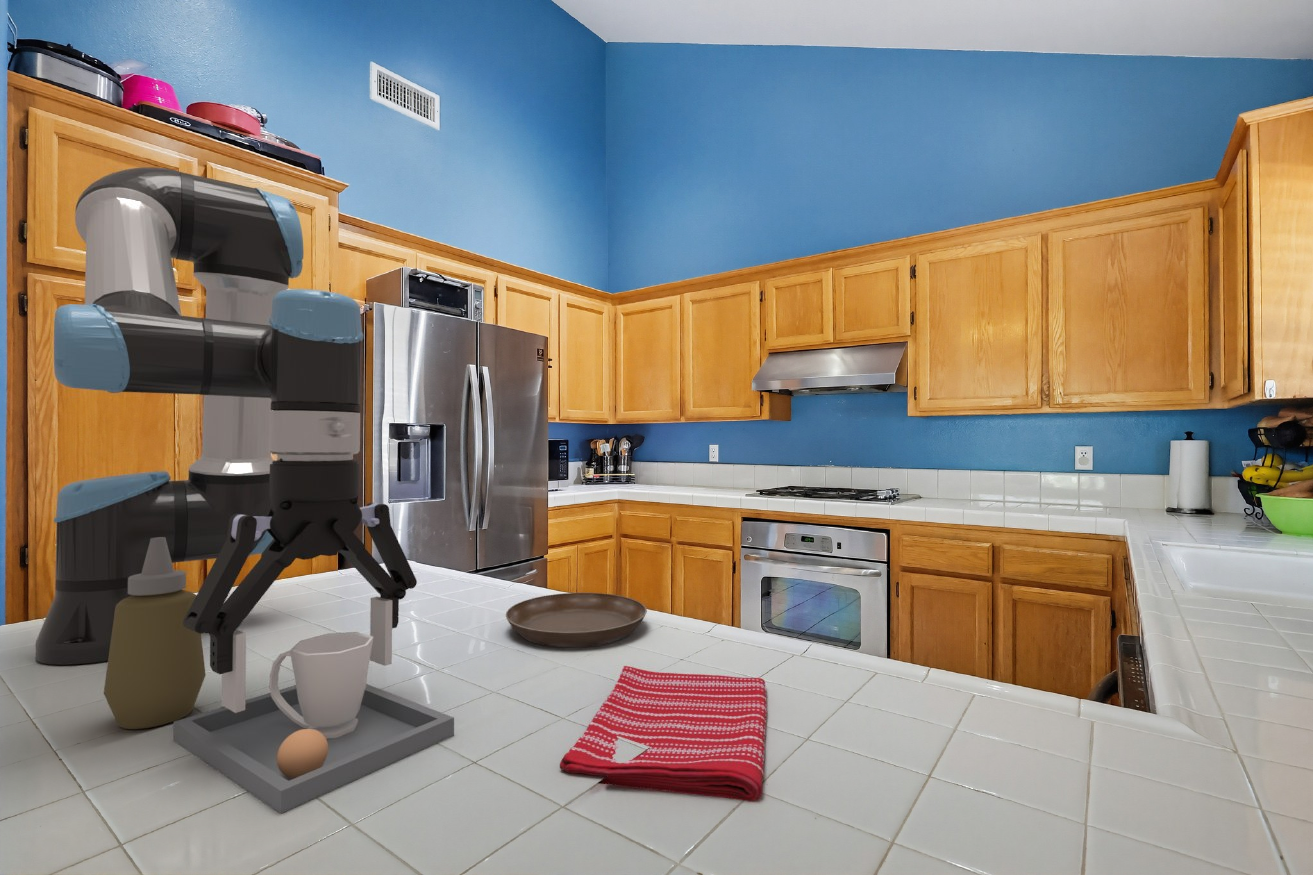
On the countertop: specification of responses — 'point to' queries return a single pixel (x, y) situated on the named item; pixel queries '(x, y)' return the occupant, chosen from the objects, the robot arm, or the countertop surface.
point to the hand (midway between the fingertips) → (313, 683)
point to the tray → (258, 731)
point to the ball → (302, 753)
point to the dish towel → (679, 734)
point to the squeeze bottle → (154, 647)
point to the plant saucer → (576, 619)
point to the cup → (326, 681)
